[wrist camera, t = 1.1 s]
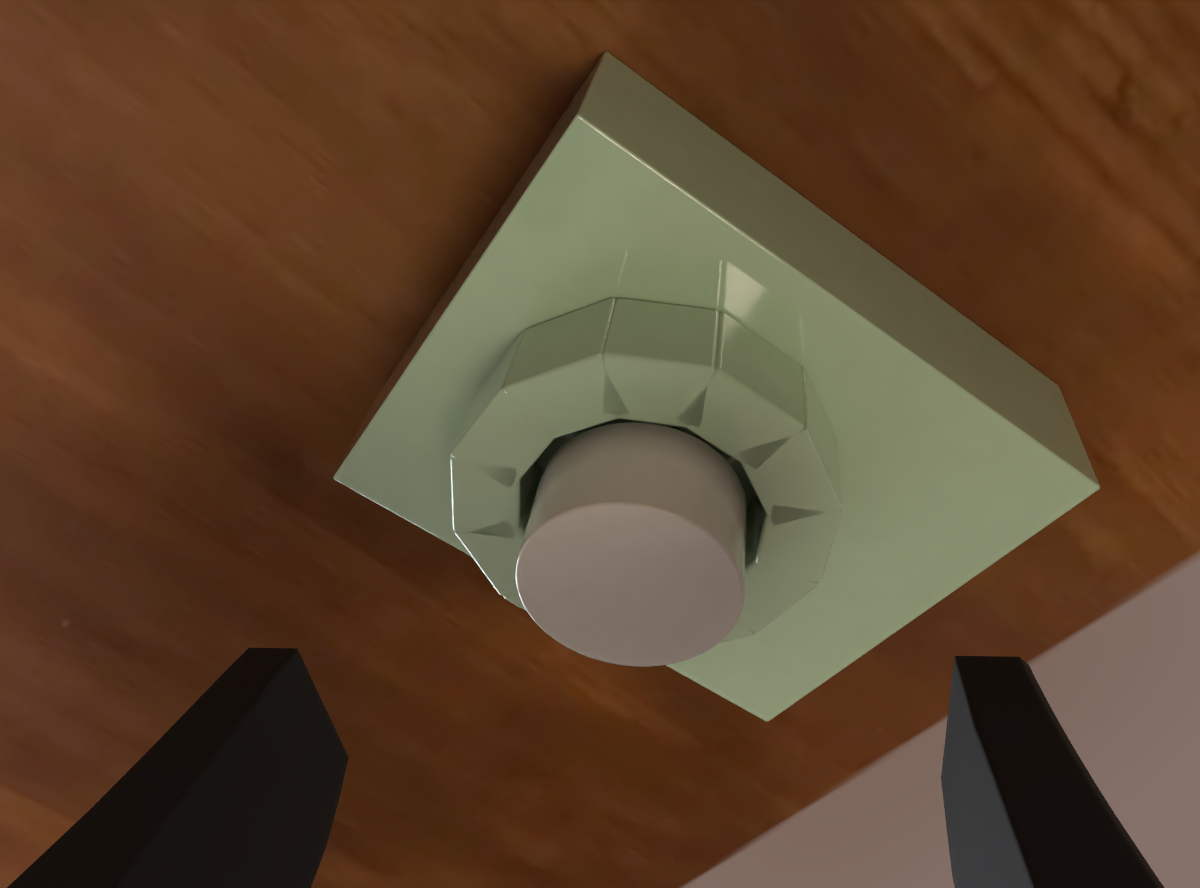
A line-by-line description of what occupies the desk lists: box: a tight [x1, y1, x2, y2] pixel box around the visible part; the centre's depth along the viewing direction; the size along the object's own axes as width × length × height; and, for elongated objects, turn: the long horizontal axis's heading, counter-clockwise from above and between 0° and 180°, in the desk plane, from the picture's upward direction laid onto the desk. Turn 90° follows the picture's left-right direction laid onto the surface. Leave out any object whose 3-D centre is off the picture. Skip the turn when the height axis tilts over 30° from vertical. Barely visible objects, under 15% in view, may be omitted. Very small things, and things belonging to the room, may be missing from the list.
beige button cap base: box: [334, 52, 1100, 722], centre depth 19 cm, size 11×9×5 cm
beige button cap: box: [515, 422, 747, 666], centre depth 16 cm, size 4×4×2 cm
